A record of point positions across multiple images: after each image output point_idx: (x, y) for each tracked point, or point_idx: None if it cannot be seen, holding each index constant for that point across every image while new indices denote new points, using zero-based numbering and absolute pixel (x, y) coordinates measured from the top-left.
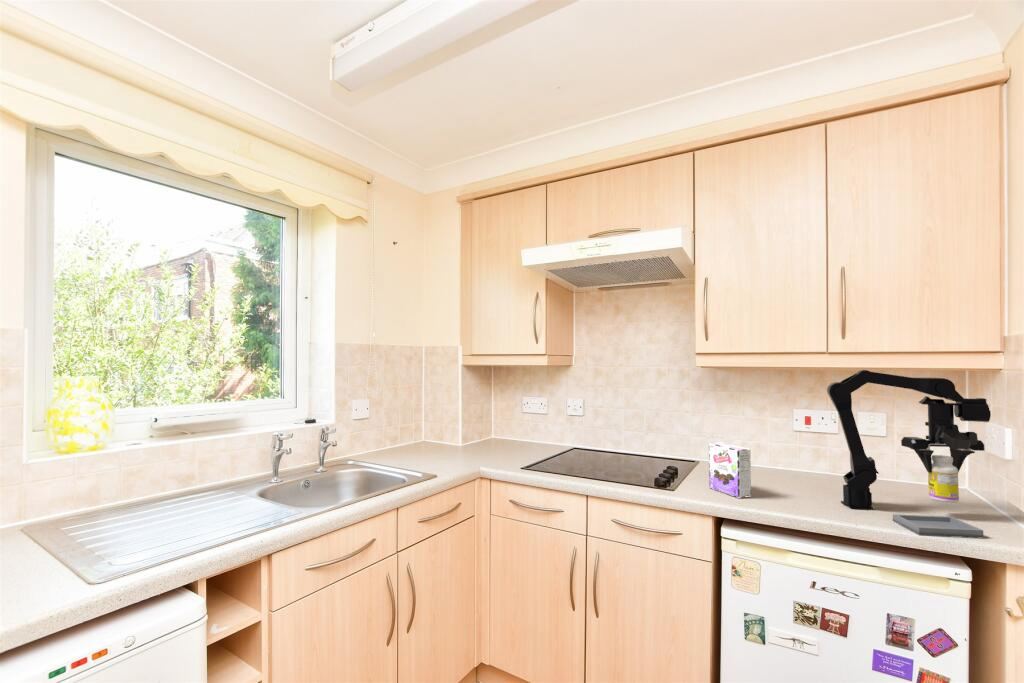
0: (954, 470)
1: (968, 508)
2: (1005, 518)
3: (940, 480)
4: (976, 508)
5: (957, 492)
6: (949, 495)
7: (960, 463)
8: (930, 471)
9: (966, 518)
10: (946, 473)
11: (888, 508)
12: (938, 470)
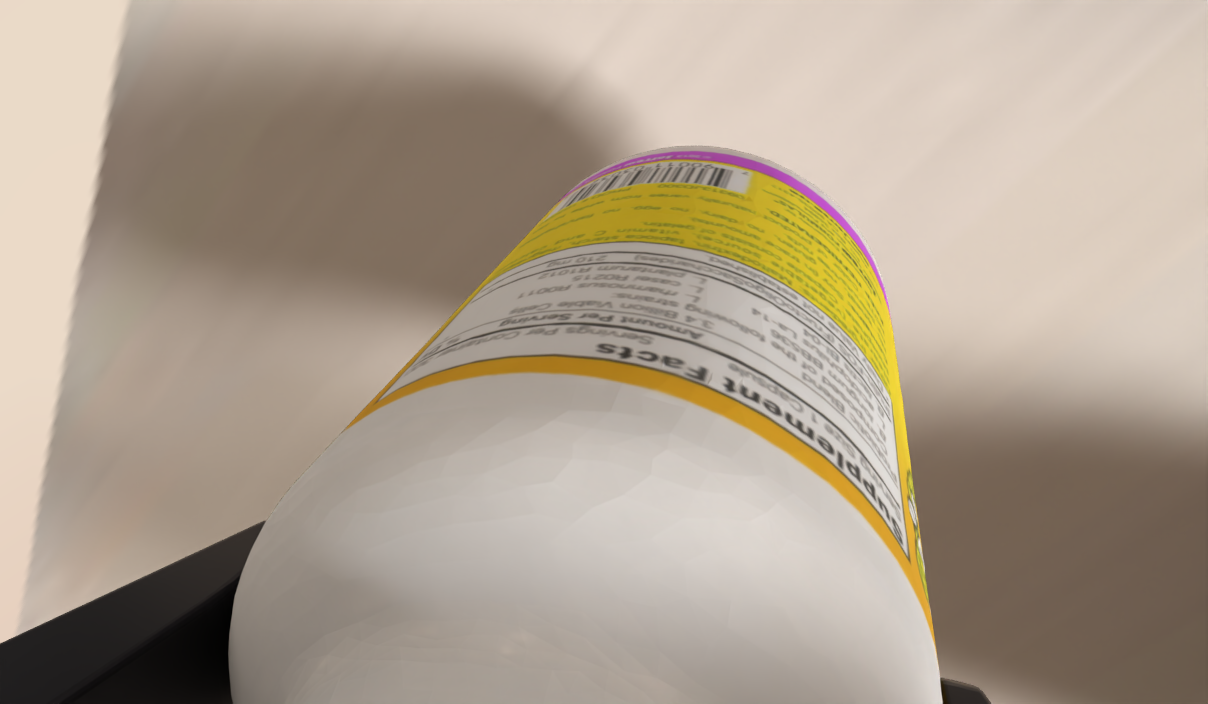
0: (458, 429)
1: (257, 457)
2: (111, 154)
3: (860, 392)
4: (187, 450)
5: (573, 205)
6: (750, 185)
7: (6, 685)
8: (983, 701)
9: (517, 159)
10: (751, 413)
11: (1159, 548)
12: (906, 594)
